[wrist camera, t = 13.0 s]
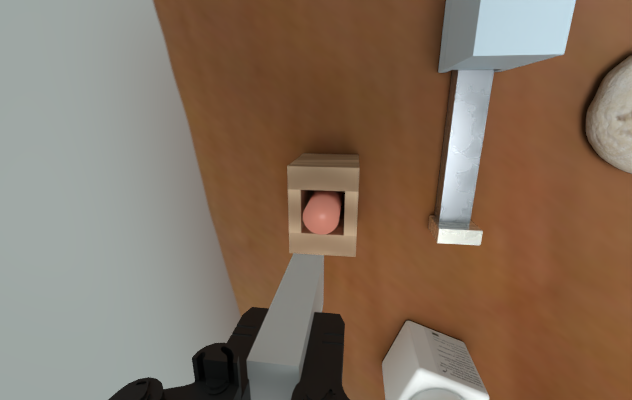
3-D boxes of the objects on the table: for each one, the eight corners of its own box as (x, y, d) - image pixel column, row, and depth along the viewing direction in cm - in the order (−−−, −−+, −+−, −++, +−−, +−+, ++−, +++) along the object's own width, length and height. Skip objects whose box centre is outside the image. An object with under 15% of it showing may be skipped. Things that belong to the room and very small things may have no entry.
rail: (457, -26, 26) (474, -49, 22) (506, -28, 26) (532, -52, 22) (428, 227, 33) (437, 243, 29) (465, 229, 33) (480, 245, 29)
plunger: (315, 178, 32) (302, 199, 24) (343, 179, 32) (339, 201, 24) (315, 205, 33) (303, 233, 25) (342, 206, 32) (338, 235, 25)
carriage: (446, 0, 27) (487, -51, 18) (512, -3, 26) (588, -58, 18) (437, 72, 28) (472, 56, 20) (500, 71, 28) (563, 54, 19)
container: (435, 384, 39) (472, 511, 27) (380, 362, 39) (392, 478, 27) (465, 341, 37) (520, 458, 24) (406, 318, 37) (431, 422, 24)
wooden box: (303, 153, 33) (287, 166, 25) (358, 154, 32) (359, 168, 24) (304, 222, 35) (289, 252, 27) (355, 224, 34) (355, 256, 26)
